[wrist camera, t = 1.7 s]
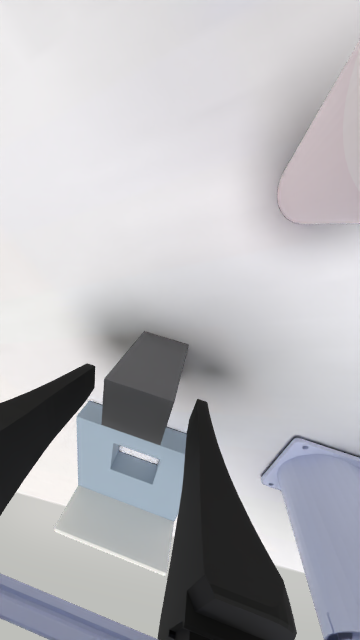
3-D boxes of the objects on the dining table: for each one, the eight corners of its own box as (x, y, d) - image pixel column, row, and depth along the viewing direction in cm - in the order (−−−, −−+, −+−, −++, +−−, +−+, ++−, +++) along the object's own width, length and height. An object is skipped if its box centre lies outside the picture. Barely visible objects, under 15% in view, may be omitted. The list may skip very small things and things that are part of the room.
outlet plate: (207, 441, 19) (204, 520, 13) (174, 505, 25) (164, 576, 20) (89, 400, 19) (41, 459, 14) (87, 472, 26) (54, 531, 21)
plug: (188, 344, 14) (174, 401, 9) (177, 381, 16) (159, 447, 11) (144, 331, 15) (104, 378, 9) (138, 368, 16) (101, 427, 11)
